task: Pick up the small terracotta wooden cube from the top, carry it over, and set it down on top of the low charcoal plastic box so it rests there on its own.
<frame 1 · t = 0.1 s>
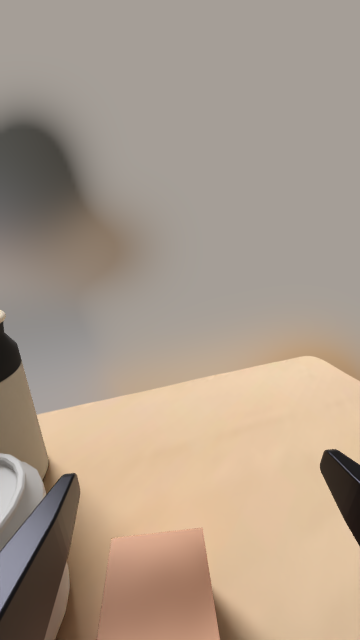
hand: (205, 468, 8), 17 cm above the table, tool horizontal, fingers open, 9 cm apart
travel mug: (6, 481, 24), on the table
can: (12, 622, 16), on the table
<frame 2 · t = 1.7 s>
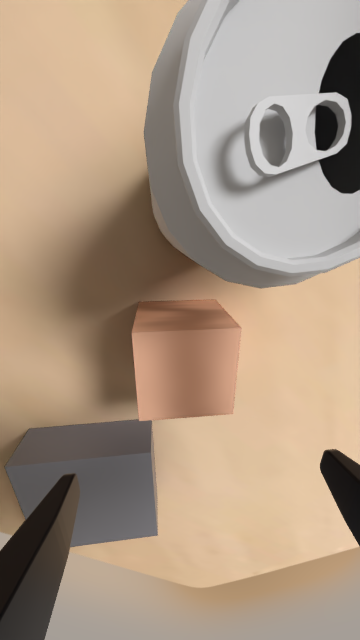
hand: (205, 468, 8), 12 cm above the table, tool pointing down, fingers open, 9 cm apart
terracotta cube: (177, 335, 19), on the table
charcoal box: (100, 462, 24), on the table
can: (205, 201, 16), on the table
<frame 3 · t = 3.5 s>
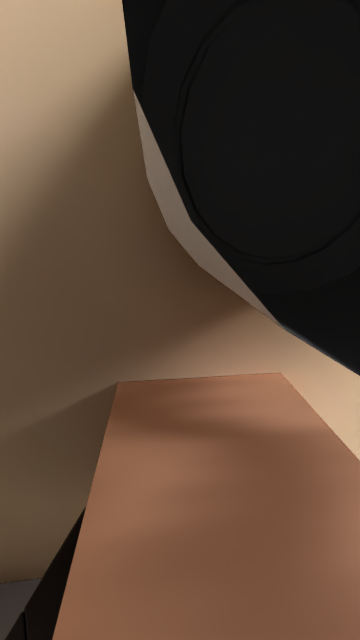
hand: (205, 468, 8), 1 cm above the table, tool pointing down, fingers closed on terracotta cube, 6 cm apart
terracotta cube: (199, 439, 9), on the table, touching gripper
charcoal box: (62, 618, 14), on the table
can: (280, 151, 6), on the table
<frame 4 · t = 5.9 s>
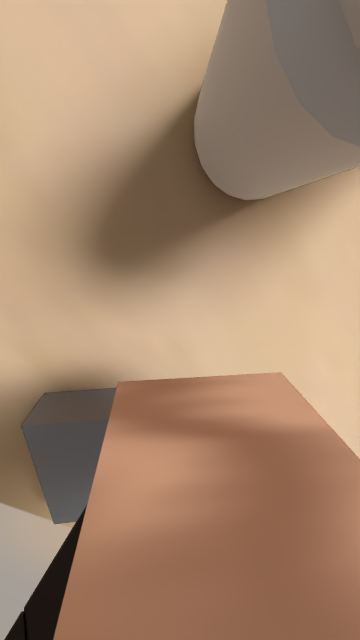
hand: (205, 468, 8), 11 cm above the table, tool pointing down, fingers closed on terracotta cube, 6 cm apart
terracotta cube: (200, 439, 9), point 10 cm above the table, touching gripper
charcoal box: (118, 433, 22), on the table
can: (249, 136, 15), on the table
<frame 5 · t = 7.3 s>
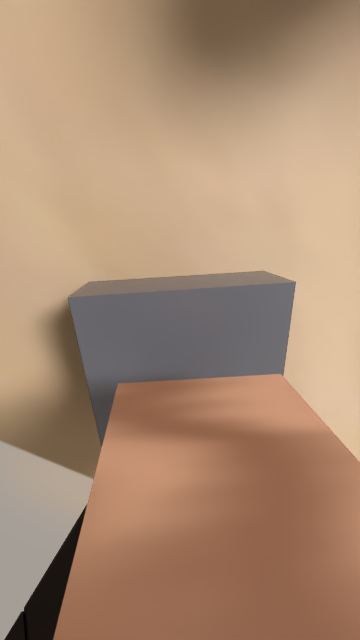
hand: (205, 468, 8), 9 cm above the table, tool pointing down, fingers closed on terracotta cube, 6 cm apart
terracotta cube: (199, 440, 9), point 7 cm above the table, touching gripper
charcoal box: (182, 351, 17), on the table
when the fingers open (7 cm above the table, at t = 8.5 s): terracotta cube drops 2 cm, point 4 cm above the table.
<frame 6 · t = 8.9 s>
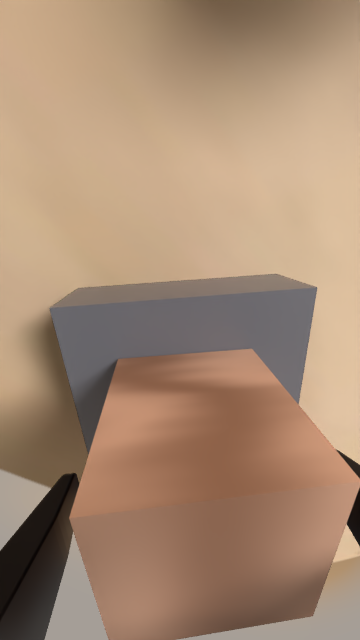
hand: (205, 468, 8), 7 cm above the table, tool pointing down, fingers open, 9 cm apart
terracotta cube: (188, 407, 11), point 4 cm above the table
charcoal box: (184, 363, 15), on the table
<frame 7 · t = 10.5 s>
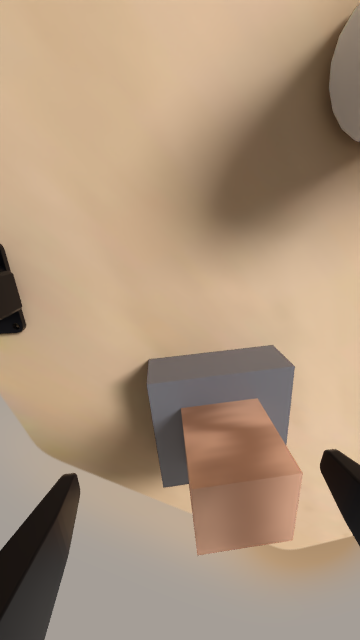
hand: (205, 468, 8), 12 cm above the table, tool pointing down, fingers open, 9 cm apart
terracotta cube: (220, 432, 19), point 3 cm above the table, touching charcoal box
charcoal box: (212, 399, 22), on the table, touching terracotta cube
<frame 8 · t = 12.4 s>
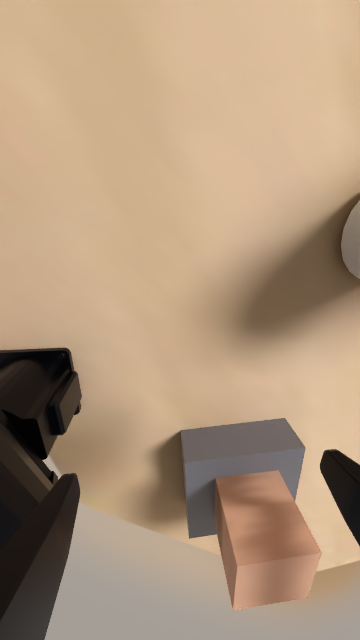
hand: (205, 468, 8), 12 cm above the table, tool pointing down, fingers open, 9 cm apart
terracotta cube: (245, 495, 22), point 4 cm above the table, touching charcoal box
charcoal box: (230, 458, 26), on the table, touching terracotta cube
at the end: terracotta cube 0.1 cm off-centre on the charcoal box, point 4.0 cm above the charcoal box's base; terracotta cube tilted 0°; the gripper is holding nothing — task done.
